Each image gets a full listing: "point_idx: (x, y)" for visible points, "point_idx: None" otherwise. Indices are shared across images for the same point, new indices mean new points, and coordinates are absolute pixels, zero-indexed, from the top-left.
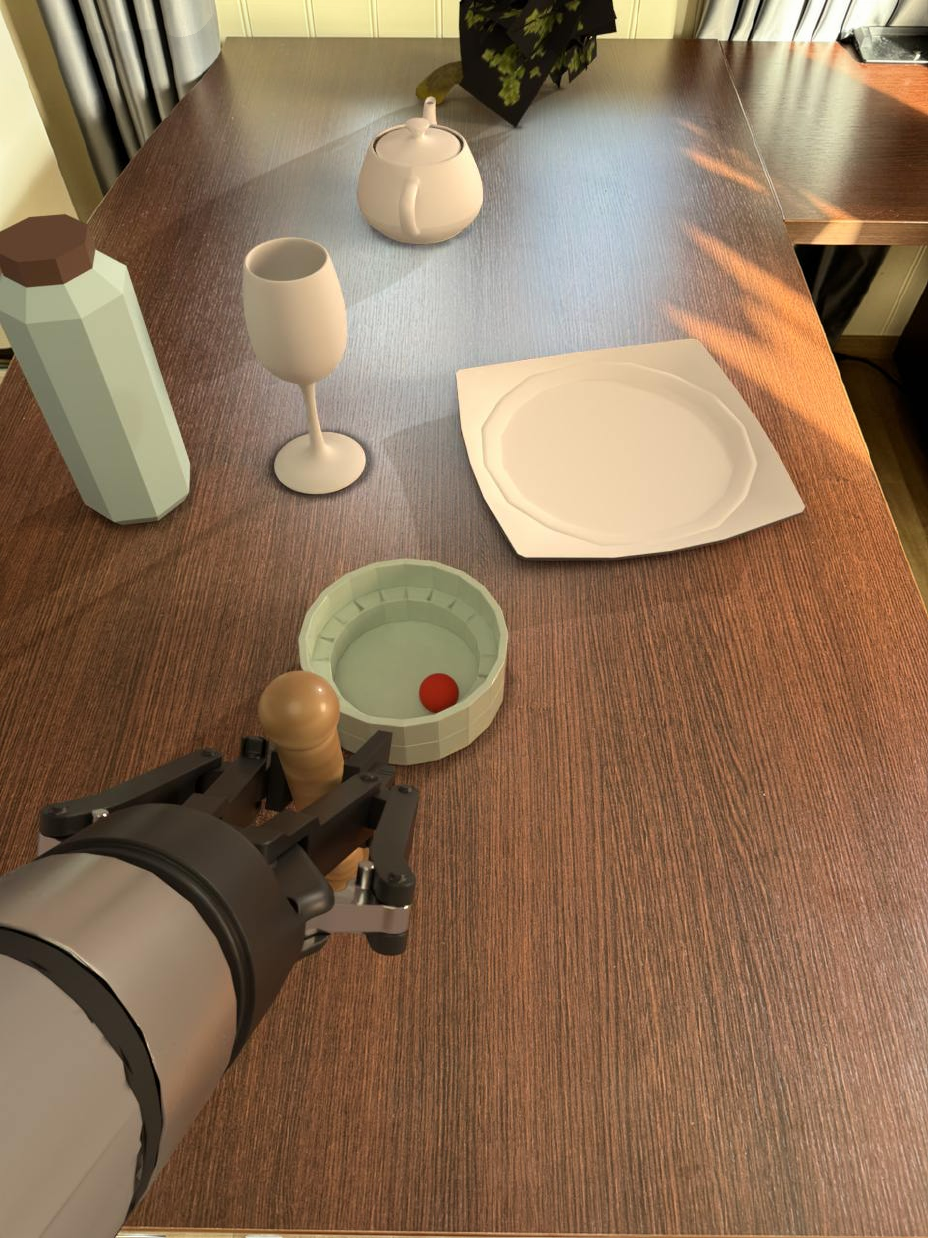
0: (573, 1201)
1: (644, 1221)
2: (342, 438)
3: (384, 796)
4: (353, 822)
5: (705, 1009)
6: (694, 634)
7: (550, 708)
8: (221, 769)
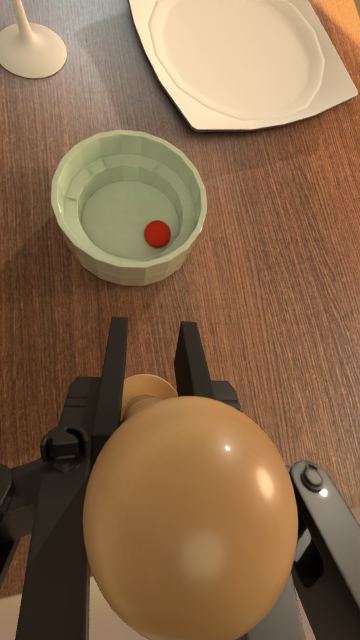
0: None
1: None
2: (44, 28)
3: None
4: None
5: (327, 404)
6: (298, 182)
7: (223, 237)
8: (17, 508)
